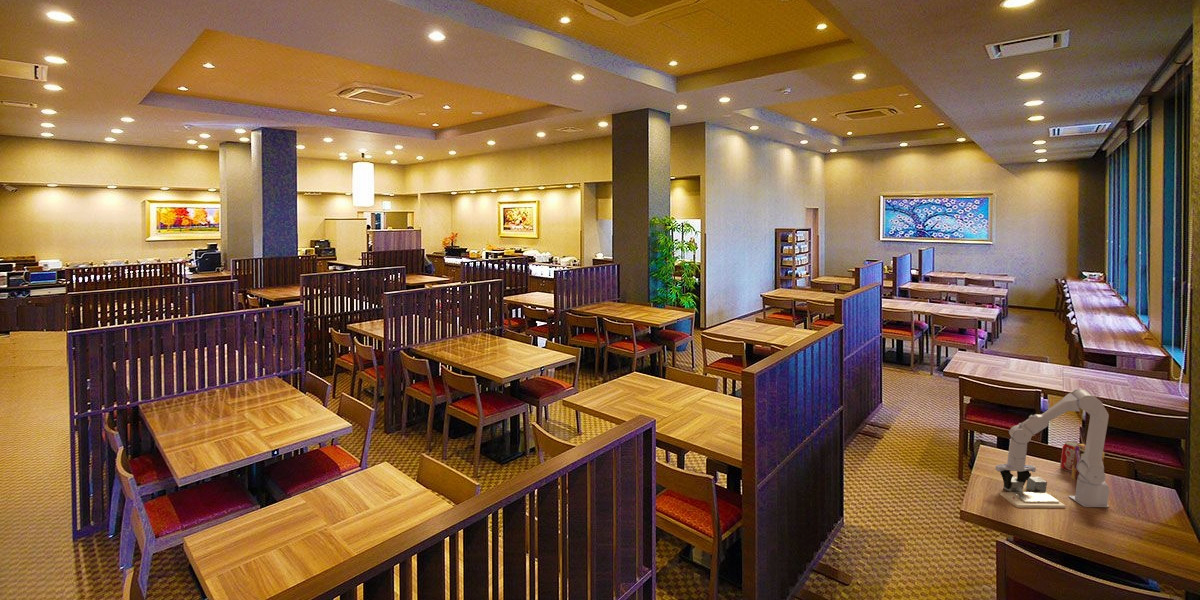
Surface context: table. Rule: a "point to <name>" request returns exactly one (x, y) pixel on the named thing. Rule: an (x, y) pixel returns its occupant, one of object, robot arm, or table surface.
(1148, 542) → the table surface
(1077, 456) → the candy box
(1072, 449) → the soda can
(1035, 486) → the spacer
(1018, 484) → the block
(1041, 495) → the white flat slab
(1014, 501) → the scale base
